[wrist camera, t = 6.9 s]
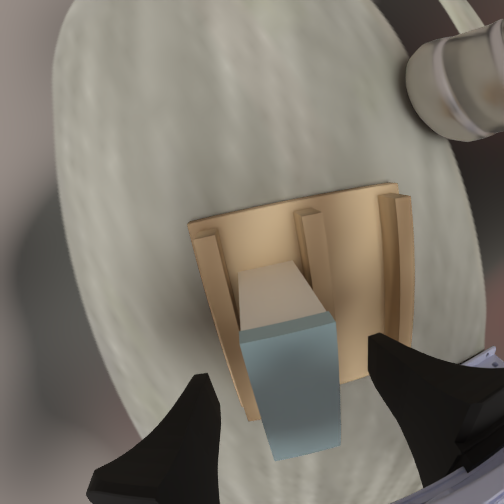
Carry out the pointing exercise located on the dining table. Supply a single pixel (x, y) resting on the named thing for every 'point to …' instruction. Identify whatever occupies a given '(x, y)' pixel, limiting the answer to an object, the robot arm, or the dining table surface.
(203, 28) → the dining table surface
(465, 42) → the plastic bottle
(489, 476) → the robot arm
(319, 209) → the rack
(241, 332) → the tall pale blue block
